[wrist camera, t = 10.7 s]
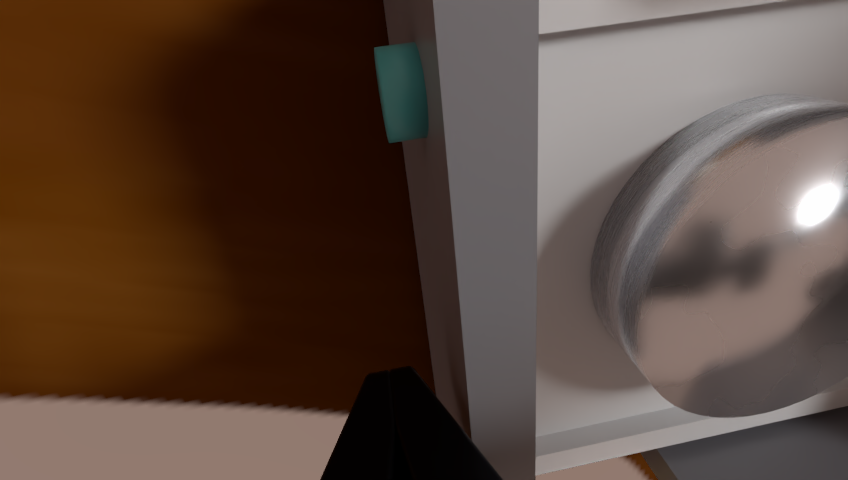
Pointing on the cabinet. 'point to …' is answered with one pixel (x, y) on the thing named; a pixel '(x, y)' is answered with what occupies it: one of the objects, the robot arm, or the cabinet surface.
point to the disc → (734, 258)
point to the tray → (566, 193)
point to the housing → (762, 452)
